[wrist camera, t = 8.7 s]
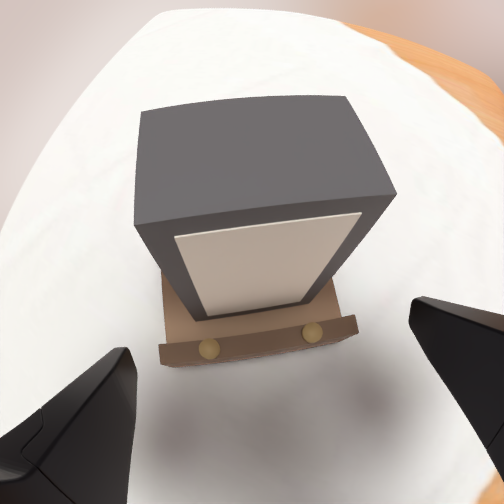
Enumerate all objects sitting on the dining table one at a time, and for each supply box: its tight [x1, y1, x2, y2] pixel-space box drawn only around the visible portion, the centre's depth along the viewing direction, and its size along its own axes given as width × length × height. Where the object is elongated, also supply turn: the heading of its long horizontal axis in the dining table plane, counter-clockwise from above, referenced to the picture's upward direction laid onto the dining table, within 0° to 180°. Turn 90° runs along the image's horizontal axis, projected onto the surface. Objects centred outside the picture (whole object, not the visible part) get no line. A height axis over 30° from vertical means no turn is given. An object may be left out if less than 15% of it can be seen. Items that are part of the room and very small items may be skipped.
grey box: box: [134, 95, 397, 322], centre depth 13 cm, size 4×6×11 cm, turn 100°
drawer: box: [158, 271, 359, 367], centre depth 17 cm, size 8×10×4 cm
